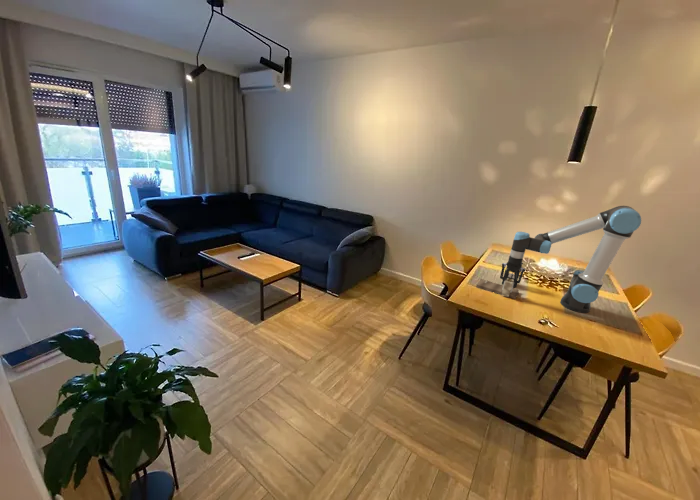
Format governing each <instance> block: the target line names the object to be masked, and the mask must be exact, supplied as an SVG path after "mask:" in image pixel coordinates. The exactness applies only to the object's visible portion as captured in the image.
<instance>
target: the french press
mask: <svg viewBox="0 0 700 500" xmlns="http://www.w3.org/2000/svg"><path fill="white" fill-rule="evenodd" d="M523 265H524V262H522V264H521V266H522V267H523ZM507 271H508V267H507V266H506V267H505V269H504V273H503V277H504V276H505V274H506V273H507ZM520 274H521V269H519V270H518V271H517V281H518V280H519V277H520ZM507 278H509V279H513V280H514V271H511V270H510V271H509V273H508V275H507V277H506V279H507ZM506 279H505V280H506ZM517 287H518V283H517V284H516V286H515V288H517Z"/></svg>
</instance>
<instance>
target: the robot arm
mask: <svg viewBox="0 0 700 500" xmlns="http://www.w3.org/2000/svg"><path fill="white" fill-rule="evenodd" d="M641 225H642V216H641V214H640V213H639V212H638V211H637V210H635V209H634V208H633V207H632V206H629V205H617V206H615V207H612V208H609V209H608V210H607V209H606V210H604V211H602V212H599V213H598V214H597V215H595V216H592V217H589V218H586V219H583V220H581V221H580V220H579V221H577V222H574V223H571V224H569V225H564V226H562V227H560V228H556V229H553V230H550V231H547V232H544V233H538V234H537V235H535V236H534V237H531V236H530V233H529V232H526V231H517V232H516V233H515V234H514V236H513V237H514V238H513V241H512V245H511V249H510V252H509V256H508V259H507V262H503V263H501V271H500V277H499V278H500V279H501V280H502V282H501V285H503V288H504V284H505V281H506V280H505V279H506V277H507V275H508V273H510V272H509V271H510V270H511V271H514V272H513V274H514V282H513V284H512V287H511V291H510V292H512V289H513V288H514V289H516V287H515V286H516V284H517V285H518V284H520V283H521V282H522V281H521V280H522V277H523V275H524V273H525V271H526V268H524V267H523V265H522V266H521V264H522V263H523V261H524V260H523V259H524V256H525V253H526V250H527V251H532V252H536V253H540V254H546V255H548V254H549V253H550V252H551V247H552V245H553V244H555V243H559V242H562V241H566V240H568V239H569V240H570V239H573V238H575V237H579V236H583V235H586V234H589V233H592V232H595V231H598V230H603V236H602V238H601V239H600V241H599V243H598V245H597V247H596V249H595V251H594V253H593V254H592V256H591V257H590V259H589V262H588V263H587V265H586V267H585V268H584V270H581V269H577V270H574V272H573V274H572V278H571V280H570V283H569V286H568V289H567V292H566V293H565V294H564V295H563V296H562V297H561V299H560V301H559V302H560V304H561V306H563V308H566V309H568V310H571V311H573V312H577V313H581V314H582V313H585V314H587V313H590V311H591V306H592V305H591V303H594V302H595V301H596V300H597V299H598V298H599V294H600V293H599V292H600V290H601V288H602V287H603V285H604V282H603V280H602V279H604V276H605V274H606V272H607V271H608V270H609V268H610V266H611V264H612V262H613V260H614V259H615V257H616V255H617V253H619V252H618V251H620V249H621V247H622V245H623V244H624V242H625V240H627V239H630V238H631V237H632V235H633V234H634V232H635V231H637V229H639V227H640V226H641ZM507 267H508V271H507V273H506V274H505V276H504V273H505V269H506V268H507ZM519 269H521V272H520V273H519V278H518V280H517V271H518V270H519ZM503 288H502V290H503Z"/></svg>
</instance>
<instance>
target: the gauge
mask: <svg viewBox="0 0 700 500" xmlns="http://www.w3.org/2000/svg"><path fill="white" fill-rule="evenodd" d="M513 282H514V280H513V279H509V278H507V279H506V281H505V284H504V288H503V292H502V295H501V296H503V297H506V298H510V297H509V294H510V291H511V287H512V284H513Z"/></svg>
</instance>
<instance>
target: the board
mask: <svg viewBox="0 0 700 500" xmlns="http://www.w3.org/2000/svg"><path fill="white" fill-rule="evenodd" d="M475 287H476V288H477V289H481V290H484V291H487V292H490V293H493V292H494V293H495V294H496V293H497V294H496V295H500V296H503V295H502V292H503V290H502V288H503V285H502V284H499V283H496V282H493V281H490V280H486V279H482V278H481V279H480V280H479V281H478V282H477V283H476V285H475ZM519 291H520V290H519V289H517V288H513V289H512V292H510V294H509V297H508V298H510V299H514V300H516V298H517V297H518V294H519Z"/></svg>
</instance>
